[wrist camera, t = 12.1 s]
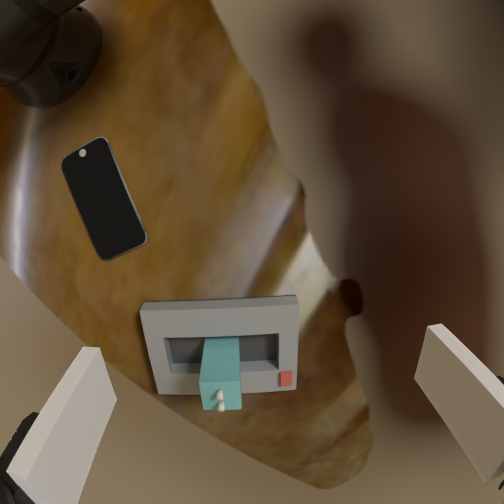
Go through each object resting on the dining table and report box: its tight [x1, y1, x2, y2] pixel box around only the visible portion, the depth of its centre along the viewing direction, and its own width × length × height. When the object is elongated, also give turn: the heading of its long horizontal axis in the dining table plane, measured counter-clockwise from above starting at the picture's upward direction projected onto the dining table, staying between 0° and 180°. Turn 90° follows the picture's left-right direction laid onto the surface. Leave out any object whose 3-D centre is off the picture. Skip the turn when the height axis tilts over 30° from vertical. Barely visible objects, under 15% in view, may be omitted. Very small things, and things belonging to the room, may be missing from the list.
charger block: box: [199, 336, 242, 412], centre depth 38 cm, size 4×4×11 cm
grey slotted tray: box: [140, 295, 299, 395], centre depth 42 cm, size 14×20×3 cm
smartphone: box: [61, 136, 148, 260], centre depth 37 cm, size 8×1×15 cm
